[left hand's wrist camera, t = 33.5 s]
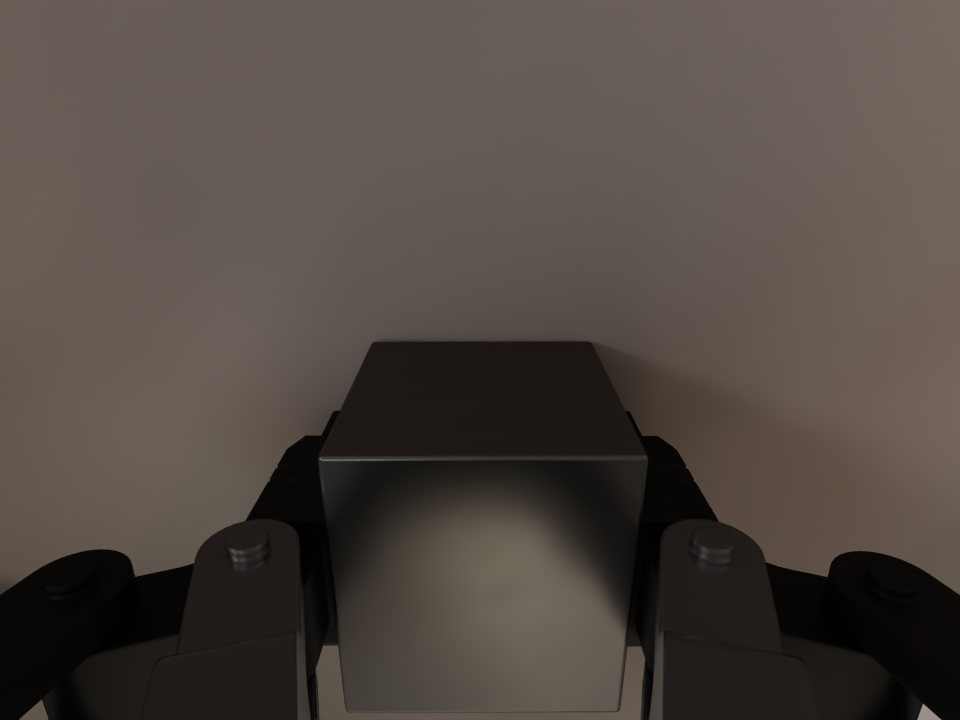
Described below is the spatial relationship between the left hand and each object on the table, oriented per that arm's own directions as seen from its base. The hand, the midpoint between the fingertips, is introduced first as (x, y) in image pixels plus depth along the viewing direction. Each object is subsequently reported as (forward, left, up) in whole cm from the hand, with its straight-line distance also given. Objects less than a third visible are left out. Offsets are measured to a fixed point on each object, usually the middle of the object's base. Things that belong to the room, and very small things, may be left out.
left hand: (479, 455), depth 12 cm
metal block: (0, 0, 0) cm, 0 cm away
